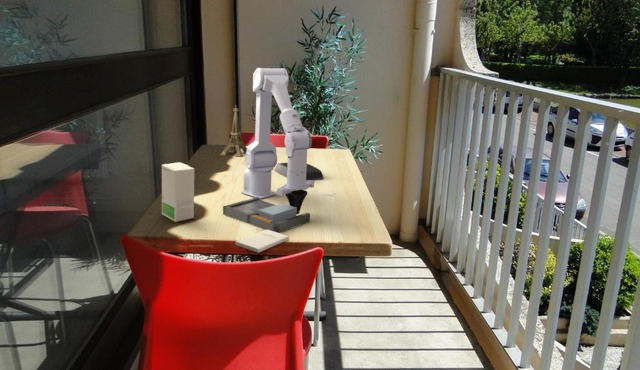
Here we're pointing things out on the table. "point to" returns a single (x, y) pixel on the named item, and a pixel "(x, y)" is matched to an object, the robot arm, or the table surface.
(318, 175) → the external hard drive
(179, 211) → the skincare box
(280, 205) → the light grey rectangular block
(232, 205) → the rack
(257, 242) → the external hard drive
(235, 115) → the eiffel tower
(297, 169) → the robot arm
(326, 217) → the table surface
